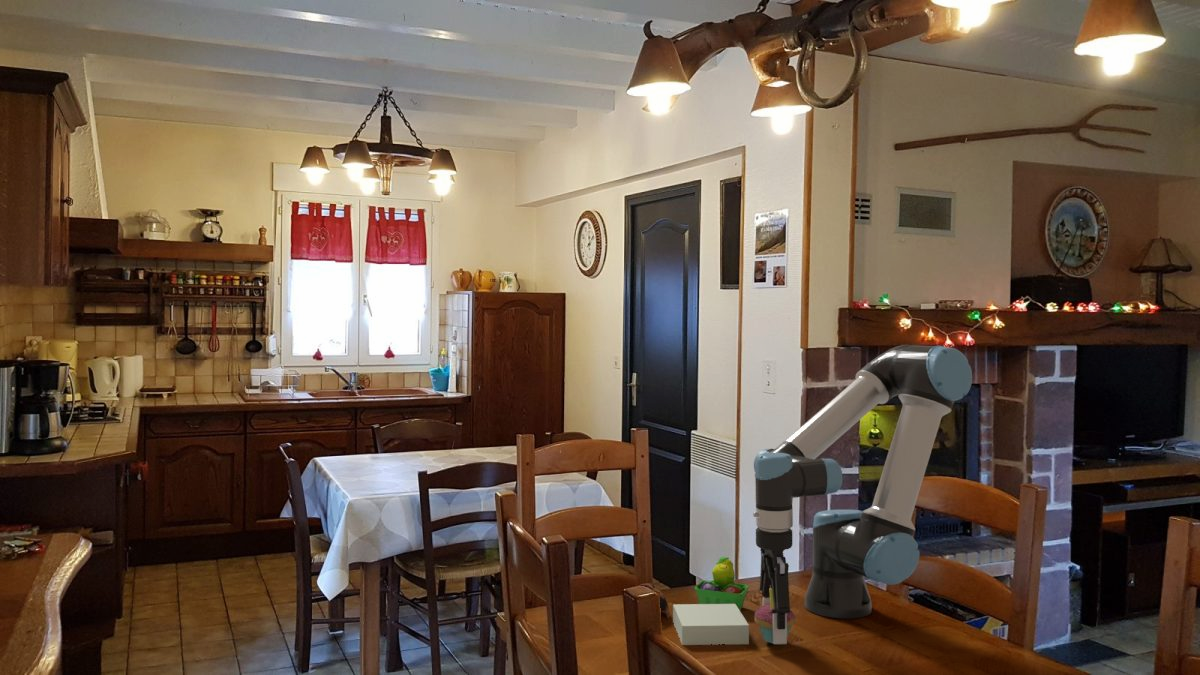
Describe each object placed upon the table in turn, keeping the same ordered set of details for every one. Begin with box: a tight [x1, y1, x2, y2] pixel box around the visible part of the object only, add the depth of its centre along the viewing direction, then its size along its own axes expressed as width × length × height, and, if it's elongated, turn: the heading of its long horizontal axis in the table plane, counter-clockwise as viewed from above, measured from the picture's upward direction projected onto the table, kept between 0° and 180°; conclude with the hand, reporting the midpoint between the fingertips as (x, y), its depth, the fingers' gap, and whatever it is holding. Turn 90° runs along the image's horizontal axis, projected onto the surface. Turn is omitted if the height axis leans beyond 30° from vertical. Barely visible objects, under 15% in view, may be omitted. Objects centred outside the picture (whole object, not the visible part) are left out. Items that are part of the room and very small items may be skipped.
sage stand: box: [672, 603, 750, 646], centre depth 196 cm, size 14×14×4 cm
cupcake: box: [754, 585, 796, 644], centre depth 190 cm, size 9×8×12 cm
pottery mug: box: [637, 582, 671, 619], centre depth 208 cm, size 12×10×8 cm
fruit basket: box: [694, 556, 749, 611], centre depth 213 cm, size 11×9×11 cm
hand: (774, 635), depth 190 cm, fingers closed on cupcake, 8 cm apart
